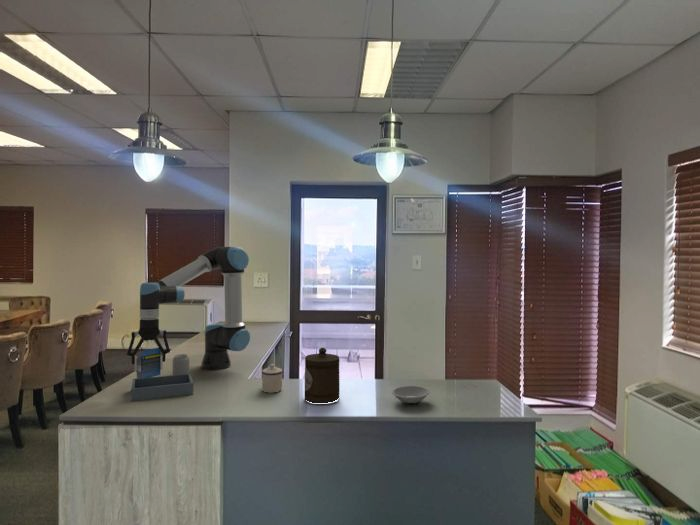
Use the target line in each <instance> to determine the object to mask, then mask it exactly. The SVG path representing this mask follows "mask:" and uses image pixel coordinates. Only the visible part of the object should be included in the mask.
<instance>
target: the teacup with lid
mask: <svg viewBox="0 0 700 525" xmlns="http://www.w3.org/2000/svg"><path fill="white" fill-rule="evenodd" d="M261 378H262V382H261V384H262V386H261V388H262V389H261V391H262V390H263V391H264V393H265V392H277V391H280V390H281V389H283V385H282V384H283V369H282V368H279V367H277V366H275V364H274V363H273V364H270V365H269V366H268V367H266V368H263V370H262V371H261ZM263 391H262V392H263ZM281 391H282V390H281ZM281 391H280V392H281ZM277 393H278V392H277Z"/></svg>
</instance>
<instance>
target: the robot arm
mask: <svg viewBox="0 0 700 525" xmlns="http://www.w3.org/2000/svg"><path fill="white" fill-rule="evenodd" d="M249 259H250V258H249V255H248V253H247V251H246V250H245V249H244V248H242V247H241V246H239V247H238V246H217V247H214V248H212V249H210V250H208V251H206V252H204V253H203V254H200V255H199V256H198V257H197V259H196V260H193V261H192V262H190V263H188V264H187V265H185V266H183V267H181V268H180V269H179V268H178V270H175V271H174V272H172V273H171V274H169V275H167V276H165V277H163V278H162V279H160V280H158V281H155V282H143V283H141V284H140V288H139V319H140V320H139V330H138V331H131V335H130V336H131V338H130V343H129V346H128V350H127V353H126V355H127V356H130V357H131V365H134V373H137V359H138V355H137V353H138V351H139V349H140V347H141V346H142V344H143V342H144V341H154V342H155V344H156V345H157V348H159V349H160V371H162V370H163V363H164V362H166V355H167V354H169V353H170V352H171V351H170V350H171V349H170V345H169V343H168V339H167V330H166V329H163V330H161V329H160V319H159V317H160V305H163V304H176V303H181V302H182V301H184V299H185V294H186V292H185V290H184V288H183V287H182V286H183V285H186V284H187V283H189V282H191V281H192V280H194V279H195V278H197V277H199V276H201V275H202V274H205V273H209V272H211V271H213V270H219V269H220V273H221V274H222V276H223V278H224V279H223V281H224V287H223V288H224V322H218V323H213V324H207V325H206V326H205V329H204V354H203V358H202V361H201V362H200V363H201V365H200V367H201V369H204V370H212V371H213V370H223V368H224V369H227V367H228V368H230V367H231V366H232V365H231V363H232V362H231V359H230V355H229V353H228V351H231V352H241V351H243V350H245V349H246V348H247V347H248V346H249V343H250V341H251V340H250V339H251V334H250V332H249V330H247V329H246V323H245V322H244V321H243V300H242V297H243V296H242V295H243V292H242V276H243V275H244V274H245V269H246V268H247V267H248V265H249V262H250V260H249ZM159 334H160V336H162V338H163V342H164V346H165V348H164V347H163V345H162V343H161V342H160V340H159V339H158V336H159ZM138 335H139V336H140V339H139V341H138V343H137V345H136V347H135V348H134V350H133V346H134V343H135V339H136V338H137V337H138ZM132 350H133V352H132ZM230 365H231V366H230ZM229 366H230V367H229Z"/></svg>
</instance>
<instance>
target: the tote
mask: <svg viewBox="0 0 700 525" xmlns="http://www.w3.org/2000/svg"><path fill="white" fill-rule="evenodd" d="M130 392H131V393H130V394H131V395H130V401H131V402H138V401H137V400H140V401H144V400H143V399H148V400H154V399H153V398H157V399H164V398H163V397H166V398H172V396H175V397H184V396H191V395H194V381H193V378H192V375H191V373H189V374H179V375H173V374H171V375H158V376H153V377H149V378H145V379H138V378H137V377H136V378H132V382H131V390H130ZM183 395H184V396H183Z"/></svg>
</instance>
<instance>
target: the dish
mask: <svg viewBox="0 0 700 525" xmlns="http://www.w3.org/2000/svg"><path fill="white" fill-rule="evenodd" d="M430 392H431V391H430V389H428V388H426V387H423V386H421V385H420V386H419V385H404V386H402V385H401V386H399V387H398V386H397V387H395V388H394V389H392V390H391V393H392V395H393V396H395V397H396V399H398V400H399V402H402V403H404V404H406V403H407V404H409V403H413V404H417V403H420V402H421V401H423V400H424V399H425V398H426V397H427V396H429V395H430ZM407 396H415V397H407ZM416 402H417V403H416Z"/></svg>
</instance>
